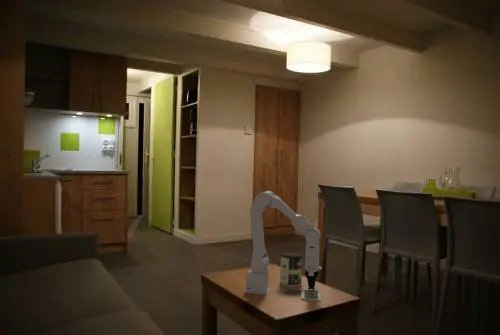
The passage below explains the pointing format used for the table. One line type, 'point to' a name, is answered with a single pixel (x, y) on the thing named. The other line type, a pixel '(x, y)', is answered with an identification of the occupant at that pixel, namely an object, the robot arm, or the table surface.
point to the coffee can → (291, 268)
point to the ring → (311, 292)
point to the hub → (311, 298)
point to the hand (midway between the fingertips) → (311, 288)
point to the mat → (293, 292)
